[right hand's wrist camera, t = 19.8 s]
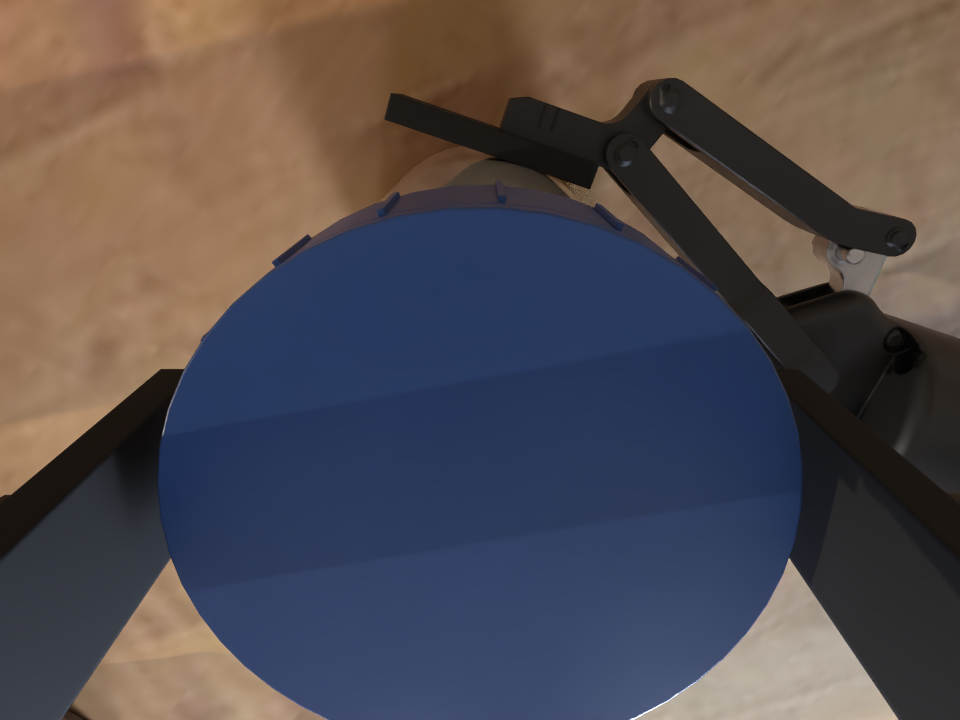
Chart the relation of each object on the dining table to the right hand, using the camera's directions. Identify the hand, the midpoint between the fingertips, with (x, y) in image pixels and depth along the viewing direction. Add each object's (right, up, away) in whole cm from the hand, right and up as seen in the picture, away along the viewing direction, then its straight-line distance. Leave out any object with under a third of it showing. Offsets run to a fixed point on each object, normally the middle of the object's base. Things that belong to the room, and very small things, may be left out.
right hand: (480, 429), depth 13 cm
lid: (0, -1, -3) cm, 3 cm away
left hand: (-4, +5, +9) cm, 11 cm away
